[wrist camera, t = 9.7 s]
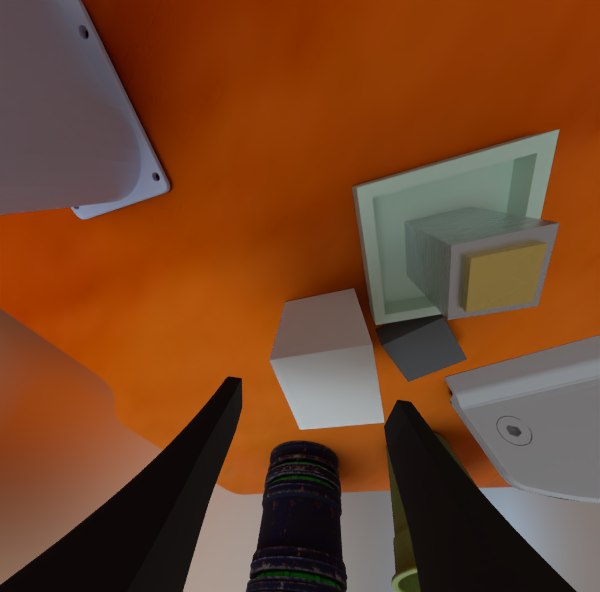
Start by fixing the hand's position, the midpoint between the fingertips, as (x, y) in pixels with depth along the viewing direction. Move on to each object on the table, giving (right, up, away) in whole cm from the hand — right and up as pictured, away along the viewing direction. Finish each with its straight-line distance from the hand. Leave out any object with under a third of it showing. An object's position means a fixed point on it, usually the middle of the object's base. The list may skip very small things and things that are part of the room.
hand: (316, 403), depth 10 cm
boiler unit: (+2, +2, +10) cm, 10 cm away
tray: (+9, +9, +6) cm, 14 cm away
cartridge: (+9, +9, +5) cm, 13 cm away
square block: (+10, +2, +10) cm, 14 cm away
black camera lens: (0, -18, +21) cm, 28 cm away
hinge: (+23, -3, +11) cm, 25 cm away
